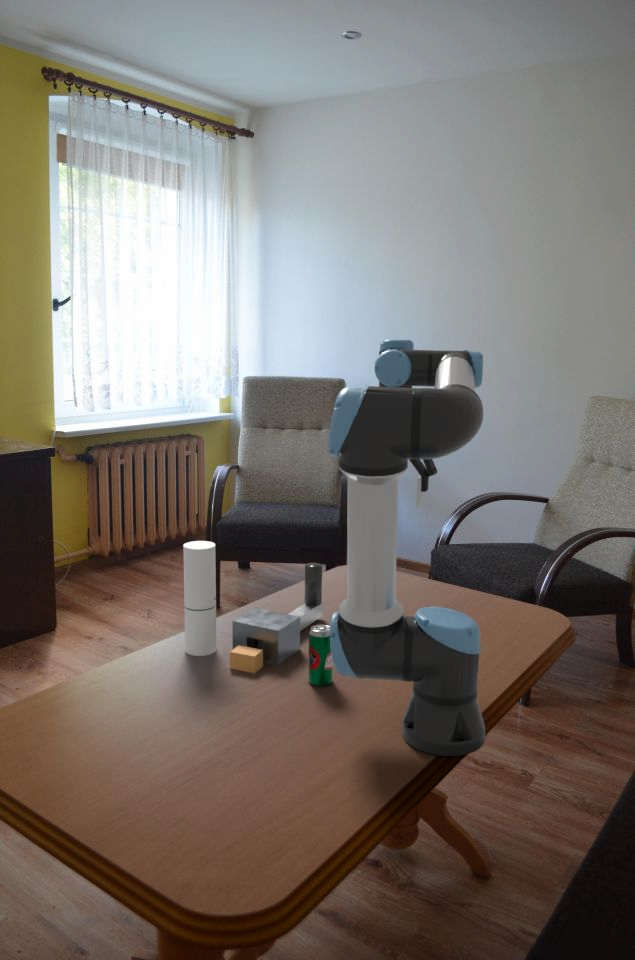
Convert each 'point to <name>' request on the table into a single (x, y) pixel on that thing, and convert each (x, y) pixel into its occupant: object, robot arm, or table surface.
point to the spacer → (246, 659)
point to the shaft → (308, 598)
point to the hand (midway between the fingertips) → (391, 502)
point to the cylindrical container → (200, 597)
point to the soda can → (320, 656)
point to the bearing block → (268, 633)
